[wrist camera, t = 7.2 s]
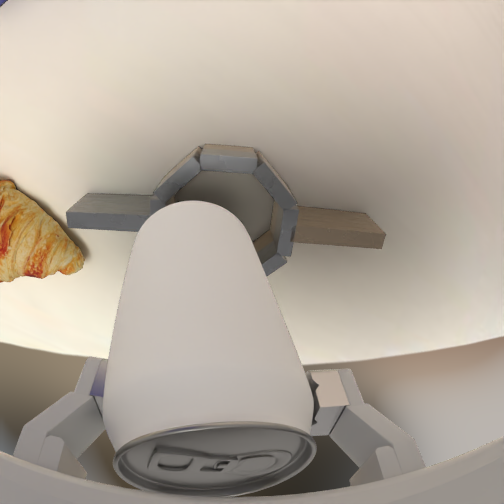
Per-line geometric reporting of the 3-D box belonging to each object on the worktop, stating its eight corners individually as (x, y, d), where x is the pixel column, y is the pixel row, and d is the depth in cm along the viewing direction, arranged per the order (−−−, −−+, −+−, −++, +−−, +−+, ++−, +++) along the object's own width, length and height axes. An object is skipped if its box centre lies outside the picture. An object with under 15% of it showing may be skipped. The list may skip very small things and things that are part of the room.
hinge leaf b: (294, 152, 23) (306, 164, 19) (276, 265, 27) (283, 293, 24) (85, 142, 21) (61, 152, 17) (93, 252, 25) (76, 278, 22)
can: (226, 310, 20) (269, 500, 10) (123, 285, 18) (95, 491, 7) (270, 218, 17) (378, 414, 7) (151, 181, 15) (101, 393, 5)
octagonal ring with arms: (376, 165, 23) (400, 179, 20) (350, 269, 28) (366, 295, 24) (163, 141, 22) (150, 152, 18) (162, 258, 26) (152, 285, 22)
